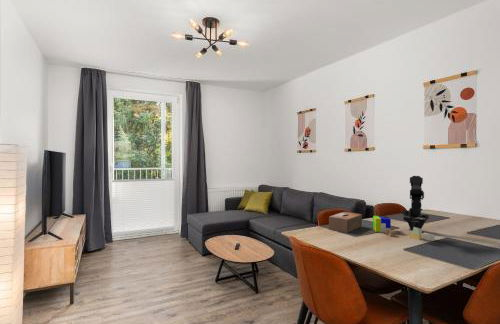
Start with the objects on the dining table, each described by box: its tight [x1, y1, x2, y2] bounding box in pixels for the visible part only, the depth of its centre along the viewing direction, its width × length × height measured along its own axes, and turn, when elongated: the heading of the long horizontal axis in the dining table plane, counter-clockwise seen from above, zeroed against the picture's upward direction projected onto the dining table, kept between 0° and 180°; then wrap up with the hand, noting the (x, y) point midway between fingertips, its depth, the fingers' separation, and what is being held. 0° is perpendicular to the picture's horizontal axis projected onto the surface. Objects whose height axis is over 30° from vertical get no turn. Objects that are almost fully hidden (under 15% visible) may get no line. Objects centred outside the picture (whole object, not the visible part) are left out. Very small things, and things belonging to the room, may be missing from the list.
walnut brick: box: [384, 229, 396, 237], centre depth 201 cm, size 6×3×4 cm, turn 11°
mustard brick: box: [409, 232, 423, 241], centre depth 193 cm, size 6×3×4 cm, turn 34°
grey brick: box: [422, 232, 436, 242], centre depth 192 cm, size 6×3×4 cm, turn 34°
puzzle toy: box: [372, 215, 392, 234], centre depth 213 cm, size 10×10×10 cm
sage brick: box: [409, 227, 423, 235], centre depth 193 cm, size 6×3×4 cm, turn 26°
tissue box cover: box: [328, 211, 363, 234], centre depth 221 cm, size 26×14×10 cm, turn 136°
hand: (415, 230), depth 193 cm, fingers open, 8 cm apart
